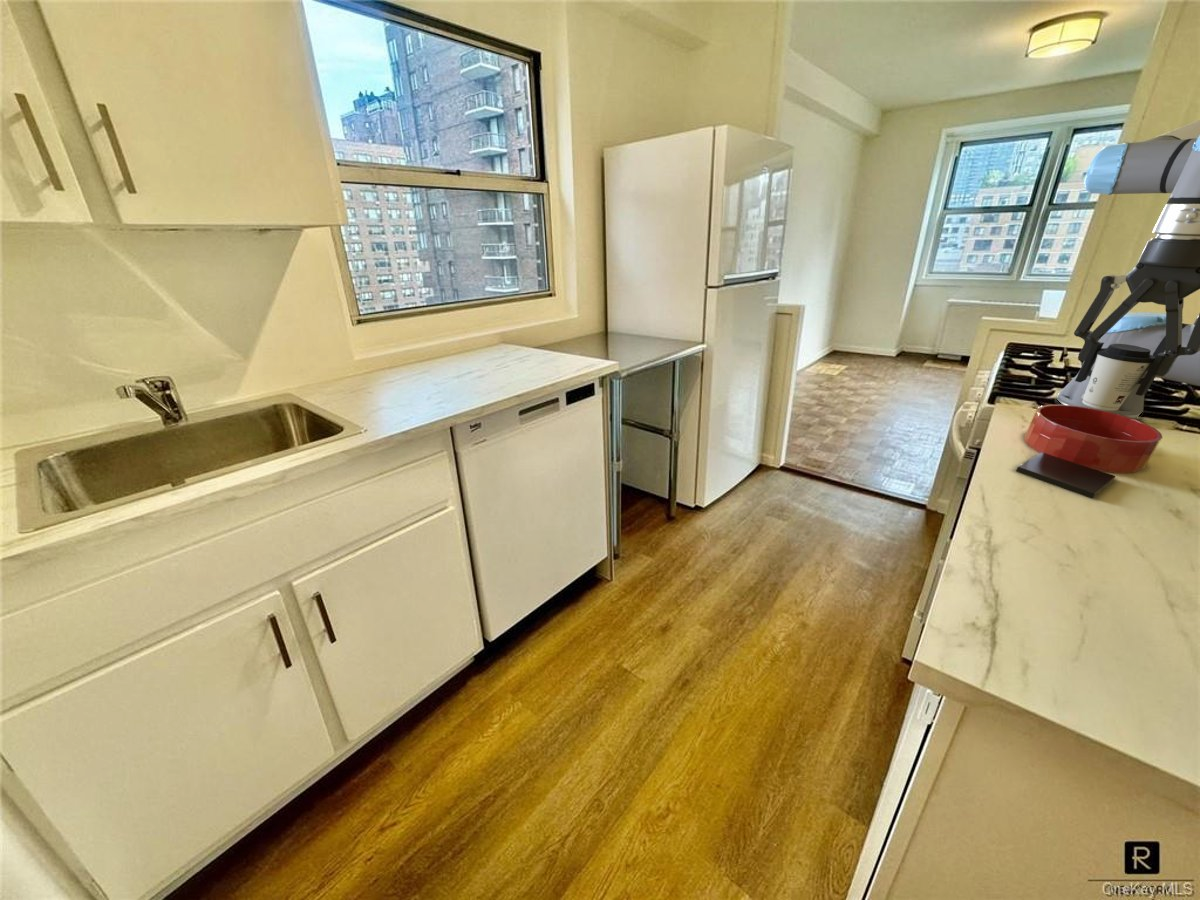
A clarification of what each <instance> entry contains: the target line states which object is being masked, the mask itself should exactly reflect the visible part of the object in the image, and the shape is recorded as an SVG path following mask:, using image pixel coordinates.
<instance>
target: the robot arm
mask: <svg viewBox="0 0 1200 900" xmlns="http://www.w3.org/2000/svg"><path fill="white" fill-rule="evenodd" d="M1084 187H1085V190H1086V191H1087V192H1088V193H1090V194H1099V195H1108V196H1111V195H1127V194H1129V195H1131V194H1133V195H1134V194H1135V195H1137V194H1170V196H1169V197H1168V199H1167V202H1166V204H1165V206H1164V208H1163V210H1162V212H1161V214H1160V216H1159V217H1158V220H1157V222H1156V224H1155V226H1154V227H1153V230H1152V233H1153V234H1154V235H1156V236H1154V237H1152V238H1150V239H1149V240H1148V241H1147V242H1146V245H1145V247H1144V249H1143V251H1142V253H1141V255H1140V257H1139V259H1138V261H1137V263H1136V265H1135V267H1134V268H1132V270H1130V271H1129V272H1128V273H1127V274H1119V275H1115V274H1109V275H1105V276H1103V277H1102V278H1101V281H1100V287H1099V291H1098V293H1097V295H1096V296H1095V298H1094V299H1093V301H1092V303H1091V304H1090V306H1089V308H1088V309H1087V310H1086V313H1085V314H1084V315H1083V317H1082V319H1081V320H1080V322H1079V323H1078V325H1077V327H1076V329H1075V330H1074V332H1073V335H1074V336H1075V337H1078V338H1080V339H1082V340H1083V341H1084V344H1082V345H1083V346H1082V348H1081V350H1080V352H1079V354H1078V356H1077V360H1078V361H1080V362H1082V364H1081V367H1080V369H1079V370H1078V373H1077V374H1076V375H1075V376H1074V377H1073V378H1072V379H1071V380H1070V381H1069V382H1068V383H1067V384H1066V385H1065V386H1064V387H1063V388H1062V389H1061V391H1060V390H1059V393H1057V395H1056V397H1055V399H1054V405H1073V406H1080V407H1088V408H1093V407H1090V406H1087V405H1085V404H1083V403H1082V401H1083V398H1084V394H1085V391H1086V388H1087V385H1088V382H1089V379H1090V376H1091V373H1092V370H1093V367H1094V363H1095V360H1096V357H1097V353H1096V352H1097V351H1098V350H1100V349H1102V348H1108V346H1109V345H1111V344H1127V345H1134V346H1138V347H1142V348H1146V349H1149V350H1150V351H1151V352H1150V355H1152V356H1154V357H1155V359H1154V361H1153V363H1152V364H1151V366H1150V367H1149V368H1148V370H1147V371H1146V373H1145V374H1144V375H1143V377H1142V378H1141V379H1140V381H1139V382H1138V383H1137V385H1136V386H1135V387H1134V389H1133V390H1132V391H1131V393H1130V394H1129V396H1128V397H1127V398H1126V400H1125V401H1124V402H1123V404H1122V405H1121V406H1120V408H1119V409H1118V410H1103V409H1098V410H1103V411H1107V412H1111V413H1116V414H1119V415H1123V416H1126V417H1129V418H1132V419H1135V420H1138V421H1140V418H1141V416H1140V417H1138V416H1139V415H1140V414H1141V413H1142V412H1143V413H1144V408H1145V407H1144V405H1145V395H1146V394H1147V393H1148V391H1149V389H1150V387H1151V386H1152V384H1153V383H1154V380H1155V378H1158V379H1162V380H1167V381H1172V382H1178V383H1182V384H1187V385H1190V386H1191V385H1192V386H1196V387H1200V313H1198V316H1197V317H1196V319H1195V320H1194V322H1193V324H1189V323H1183V321H1184V319H1183V309H1184V303H1185V302H1184V299H1185V298H1187V297H1188V296H1190V295H1192V294H1193V293H1196V292H1197V291H1199V290H1200V119H1198V120H1195V121H1193V122H1190V123H1189V124H1188V123H1187V124H1185V125H1182V126H1179V127H1178V128H1175V129H1172V130H1170V131H1167V132H1165V133H1163V134H1159V135H1157V136H1154V137H1152V138H1149V139H1146V140H1143V141H1137V142H1136V141H1135V142H1129V141H1125V142H1124V143H1114V144H1109V145H1106V146H1104V147H1103V148H1101V149H1100V150H1099V151H1098V152H1097V153H1096V155H1094V157H1093V158H1092V160H1091V162H1090V164H1089V166H1088V169H1087V171H1086V175H1085V179H1084ZM1125 282H1126V285H1127V288H1128V289H1129V292H1130V294H1129V295H1127V297H1126V298H1125V299H1124V300H1123V301H1122V302H1121V304H1120V305H1118V306H1117V308H1115V309H1114V310H1113V311H1112V312H1111V313H1110V314H1109V315H1108V316H1107V317H1106V318H1105V319H1104V320H1103V321H1102V322H1101V323H1100V324H1098V326H1097V327H1096V328H1094V330H1093V331H1092V330H1091V328H1092V327H1093V325H1094V324H1095V322H1096V321H1097V319H1098V318H1099V316H1100V315H1101V313H1102V311H1103V310H1104V308H1105V307H1106V305H1107V303H1108V302H1109V300H1110V298H1111V297H1112V296H1113V294H1114V292H1115V290H1116V289H1119V288H1120V287H1122V284H1123V283H1125ZM1139 303H1144V304H1145V303H1153V304H1156V305H1161V306H1164V307H1165V308H1164V309H1165V312H1131V310H1132V309H1133V308H1135V306H1137V305H1138V304H1139ZM1056 399H1057V400H1058V401H1059V402H1060V403H1061V404H1060V403H1059V402H1058V401H1057V400H1056ZM1093 409H1097V408H1093ZM1143 413H1142V414H1143ZM1137 417H1138V418H1137Z"/></svg>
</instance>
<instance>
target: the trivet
mask: <svg viewBox="0 0 1200 900" xmlns="http://www.w3.org/2000/svg"><path fill="white" fill-rule="evenodd" d="M1015 471H1016V472H1017V473H1019V474H1022V475H1026V476H1028V477H1031V478H1033V479H1037V480H1040V481H1042V482H1045V483H1048V484H1050V485H1053V486H1057V487H1059V488H1062V489H1065V490H1068V491H1069V492H1073V493H1076V494H1079V495H1082V496H1084V497H1087V498H1091V499H1093V498H1095V497H1096V496H1097V495H1098V494H1099V493H1100V492H1102V491H1103V490H1104V489H1106V487H1108V486H1109V485H1110V484H1112V482H1114V480H1115V479H1116V475H1114V474H1111V473H1109V472H1106V471H1100V470H1095V469H1092V468H1089V467H1086V466H1083V465H1080V464H1077V463H1073V462H1070V461H1067V460H1064V459H1061V458H1058V457H1055V456H1052V455H1048V454H1045V453H1042V452H1039V453H1038V454H1036V455H1035V456H1032V457H1031V458H1029V459H1028V460H1026V461H1025V462H1023V463H1021V464H1020V465H1018V466H1017V467H1016V470H1015Z"/></svg>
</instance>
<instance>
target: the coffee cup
mask: <svg viewBox="0 0 1200 900" xmlns="http://www.w3.org/2000/svg"><path fill="white" fill-rule="evenodd" d="M1150 352H1151V351H1150V350H1149V349H1146V348H1142V347H1138V346H1134V345H1127V344H1111V345H1109V346H1108V348H1102V349H1100V350H1098V351H1097V352H1096V353H1097V357H1096V360H1095V363H1094V367H1093V370H1092V373H1091V376H1090V379H1089V382H1088V385H1087V388H1086V391H1085V394H1084V398H1083V401H1082V403H1083V404H1085V405H1087V406H1090V407H1093V408H1097V409H1103V410H1118V409H1119V408H1120V406H1121V405H1122V404H1123V402H1124V401H1125V400H1126V398H1127V397H1128V396H1129V394H1130V393H1131V391H1132V390H1133V389H1134V387H1135V386H1136V385H1137V383H1138V382H1139V381H1140V379H1141V378H1142V377H1143V375H1144V374H1145V373H1146V371H1147V370H1148V368H1149V367H1150V366H1151V364H1152V363H1153V361H1154V359H1155V357H1154V356H1152V355H1150Z"/></svg>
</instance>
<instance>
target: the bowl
mask: <svg viewBox="0 0 1200 900" xmlns="http://www.w3.org/2000/svg"><path fill="white" fill-rule="evenodd" d="M1023 437H1024V438H1023V440H1024V442H1025V443H1026V444H1027V445H1028V446H1029V447H1030V448H1032V449H1034V450H1035V451H1036V452H1039V453H1041V452H1042V453H1045V454H1048V455H1052V456H1055V457H1058V458H1061V459H1064V460H1067V461H1070V462H1073V463H1077V464H1080V465H1083V466H1086V467H1089V468H1092V469H1095V470H1099V471H1102V472H1106V473H1116V474H1117V473H1119V474H1129V473H1137V472H1140V471H1142V470H1143V469H1144V468H1145V467H1146V466H1147V465H1148V462H1149V461H1150V460H1151V457H1152V456H1153V454H1154V452H1155V451H1156V450H1157V448H1158V446H1159V444H1160V443H1161V441H1162V440H1163V434H1162V433H1161V432H1160V431H1159V430H1158V429H1156V427H1153V426H1151V425H1149V424H1147V423H1145V422H1143V421H1140V420H1135V419H1132V418H1129V417H1126V416H1123V415H1119V414H1116V413H1111V412H1107V411H1103V410H1098V409H1093V408H1088V407H1080V406H1073V405H1056V404H1046V405H1045V404H1044V405H1041V406H1039V407H1037V408H1036V410H1035V412H1034V415H1033V416H1032V419H1031V421H1030V423H1029V425H1028V427H1027V429H1026V432H1025V435H1024V436H1023Z"/></svg>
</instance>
